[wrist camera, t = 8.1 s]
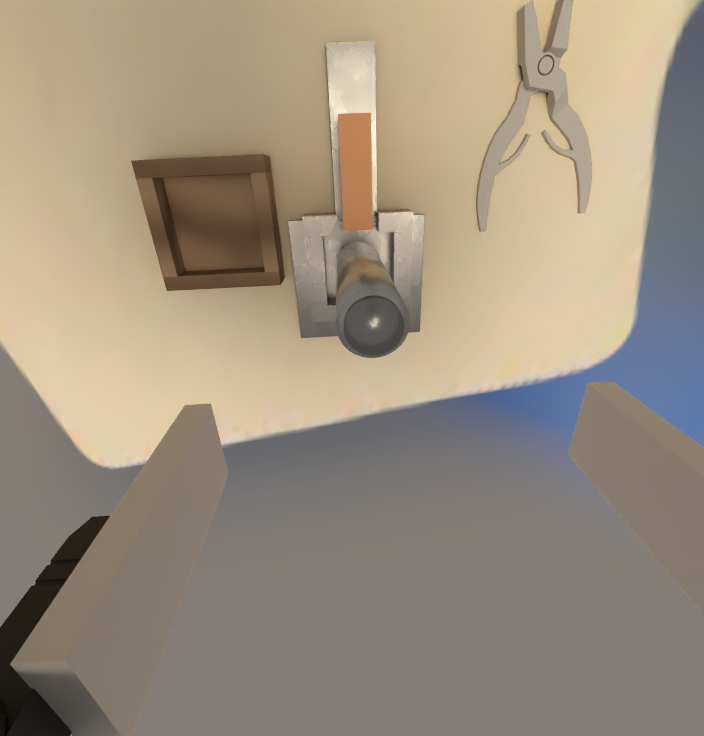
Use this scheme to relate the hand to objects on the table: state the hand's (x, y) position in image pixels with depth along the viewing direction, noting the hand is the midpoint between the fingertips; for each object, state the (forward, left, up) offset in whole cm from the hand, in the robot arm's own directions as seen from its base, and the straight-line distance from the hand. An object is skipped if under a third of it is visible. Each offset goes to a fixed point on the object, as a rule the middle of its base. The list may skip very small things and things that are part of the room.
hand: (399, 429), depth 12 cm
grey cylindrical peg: (0, 0, -25) cm, 25 cm away
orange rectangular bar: (-7, 0, -26) cm, 27 cm away
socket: (-4, 0, -26) cm, 26 cm away
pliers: (-10, +15, -27) cm, 32 cm away
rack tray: (-4, -12, -26) cm, 29 cm away
